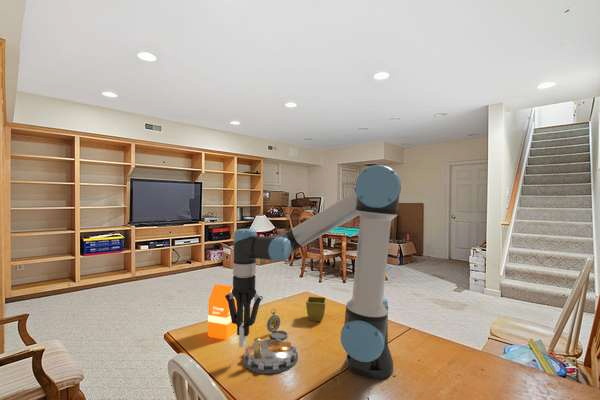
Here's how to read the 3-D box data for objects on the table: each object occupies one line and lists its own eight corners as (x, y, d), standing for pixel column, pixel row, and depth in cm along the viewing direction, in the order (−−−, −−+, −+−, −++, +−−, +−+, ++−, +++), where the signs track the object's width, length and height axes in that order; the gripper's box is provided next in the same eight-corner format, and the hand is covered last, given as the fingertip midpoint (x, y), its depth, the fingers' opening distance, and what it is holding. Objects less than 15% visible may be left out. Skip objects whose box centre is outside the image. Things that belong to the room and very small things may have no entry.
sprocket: (307, 355, 100) (307, 333, 100) (267, 377, 87) (267, 352, 87) (273, 338, 112) (273, 318, 112) (233, 355, 99) (234, 333, 99)
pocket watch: (285, 341, 112) (285, 315, 112) (264, 339, 113) (264, 313, 113) (290, 332, 120) (290, 308, 120) (270, 330, 121) (270, 306, 121)
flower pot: (307, 314, 139) (308, 296, 139) (325, 315, 138) (326, 297, 138) (305, 322, 130) (305, 302, 130) (325, 323, 129) (325, 303, 129)
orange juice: (226, 340, 112) (227, 288, 113) (207, 336, 115) (208, 286, 115) (237, 331, 120) (237, 283, 120) (219, 328, 123) (219, 281, 123)
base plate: (309, 357, 100) (309, 356, 100) (266, 382, 86) (266, 380, 86) (273, 339, 113) (273, 338, 113) (231, 358, 99) (231, 356, 99)
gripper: (266, 273, 99) (264, 342, 99) (232, 270, 102) (230, 337, 102) (258, 279, 92) (256, 353, 91) (221, 276, 95) (219, 347, 95)
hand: (242, 344), depth 97 cm, fingers closed
